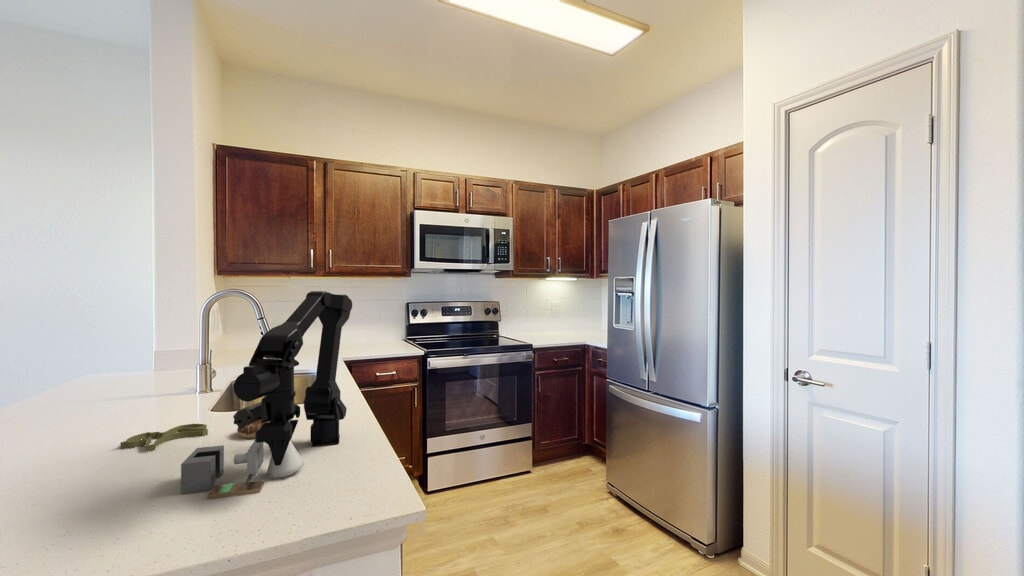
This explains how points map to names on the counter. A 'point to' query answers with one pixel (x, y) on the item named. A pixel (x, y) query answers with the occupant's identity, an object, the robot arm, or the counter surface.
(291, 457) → the flask
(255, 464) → the gauge plunger
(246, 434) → the donut
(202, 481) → the gauge housing
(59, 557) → the counter surface
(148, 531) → the counter surface
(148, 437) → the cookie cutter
